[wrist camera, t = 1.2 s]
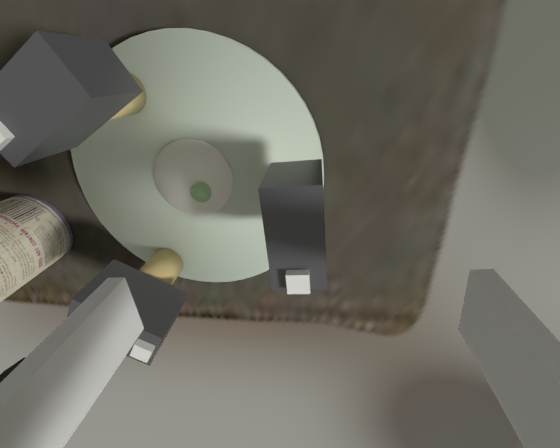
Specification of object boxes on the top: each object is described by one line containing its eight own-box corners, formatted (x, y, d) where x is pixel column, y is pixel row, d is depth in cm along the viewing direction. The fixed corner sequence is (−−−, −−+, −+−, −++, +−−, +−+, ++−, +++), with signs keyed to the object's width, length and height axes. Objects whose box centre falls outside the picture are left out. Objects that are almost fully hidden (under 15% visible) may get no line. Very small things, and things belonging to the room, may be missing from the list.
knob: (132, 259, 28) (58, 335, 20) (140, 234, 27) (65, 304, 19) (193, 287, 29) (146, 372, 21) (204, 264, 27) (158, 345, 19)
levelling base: (56, 19, 21) (31, 15, 19) (342, 42, 20) (345, 39, 18) (107, 259, 30) (93, 271, 28) (308, 284, 29) (307, 299, 27)
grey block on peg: (278, 148, 22) (256, 192, 14) (320, 144, 22) (322, 188, 14) (285, 223, 25) (271, 297, 17) (324, 222, 24) (327, 296, 16)
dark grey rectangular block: (141, 44, 20) (26, 28, 12) (172, 87, 21) (83, 99, 13) (82, 98, 22) (-51, 114, 14) (113, 135, 23) (5, 170, 15)
